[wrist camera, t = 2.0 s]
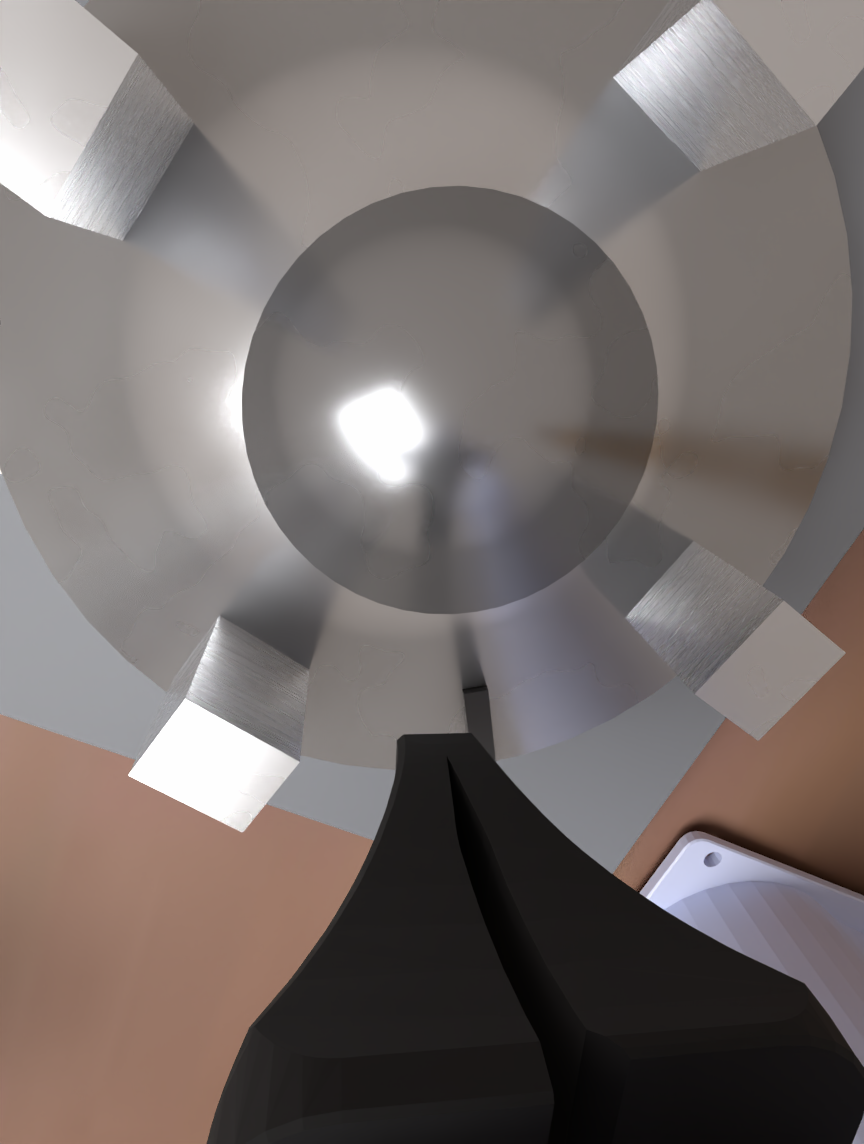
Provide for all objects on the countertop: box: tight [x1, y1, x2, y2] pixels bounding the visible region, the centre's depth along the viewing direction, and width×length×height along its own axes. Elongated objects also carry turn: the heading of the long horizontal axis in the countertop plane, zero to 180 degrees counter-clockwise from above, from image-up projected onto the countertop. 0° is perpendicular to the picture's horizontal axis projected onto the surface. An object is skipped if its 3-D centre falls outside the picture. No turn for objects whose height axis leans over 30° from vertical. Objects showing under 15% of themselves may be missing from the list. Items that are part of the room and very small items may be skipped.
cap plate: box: [0, 0, 864, 874], centre depth 14 cm, size 20×20×1 cm
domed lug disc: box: [0, 0, 864, 832], centre depth 11 cm, size 15×15×4 cm
